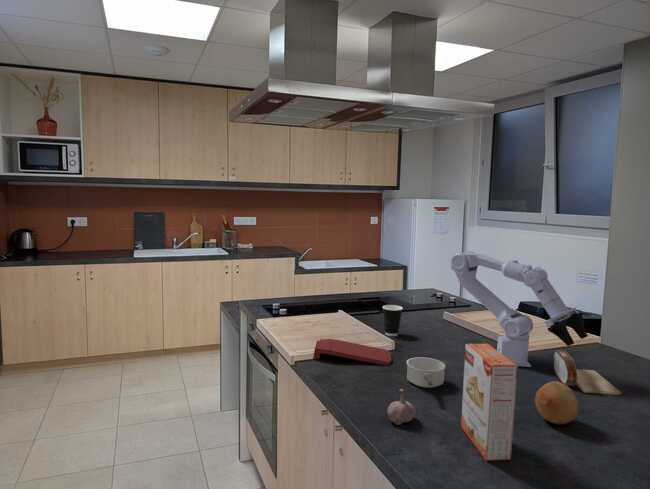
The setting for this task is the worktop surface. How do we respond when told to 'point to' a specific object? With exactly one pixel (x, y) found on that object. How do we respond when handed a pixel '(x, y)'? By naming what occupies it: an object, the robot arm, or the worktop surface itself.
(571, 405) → the onion
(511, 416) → the cracker box
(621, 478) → the worktop surface
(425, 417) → the worktop surface
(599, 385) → the oak board
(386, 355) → the red flat block
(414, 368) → the white ceramic ramekin
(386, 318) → the dixie cup
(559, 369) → the tin
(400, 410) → the garlic bulb
